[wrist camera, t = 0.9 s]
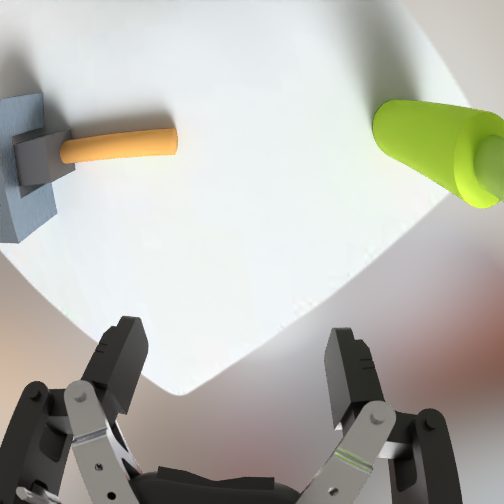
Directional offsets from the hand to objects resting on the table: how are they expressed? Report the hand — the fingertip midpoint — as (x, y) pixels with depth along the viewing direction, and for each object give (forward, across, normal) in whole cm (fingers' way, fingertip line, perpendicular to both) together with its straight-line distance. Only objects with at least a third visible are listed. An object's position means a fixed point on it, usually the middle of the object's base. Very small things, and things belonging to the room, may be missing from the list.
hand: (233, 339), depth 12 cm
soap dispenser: (+18, -14, -7) cm, 24 cm away
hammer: (+18, +15, -5) cm, 24 cm away
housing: (+18, +26, -5) cm, 32 cm away
